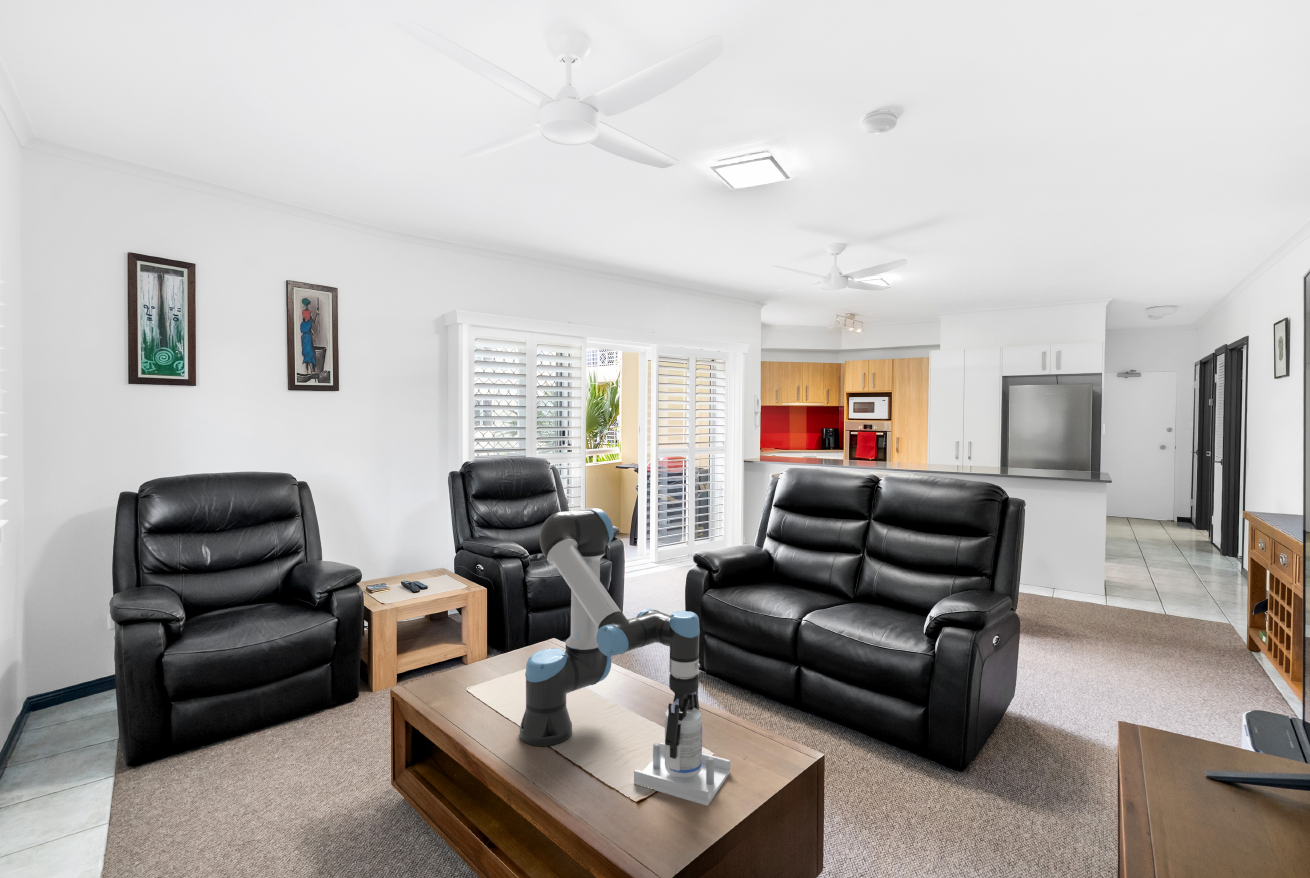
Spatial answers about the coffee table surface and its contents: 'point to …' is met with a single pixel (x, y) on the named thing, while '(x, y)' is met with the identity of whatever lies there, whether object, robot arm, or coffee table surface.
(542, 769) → the coffee table surface
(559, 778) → the coffee table surface
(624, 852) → the coffee table surface
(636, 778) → the tray
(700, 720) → the supplement tub
